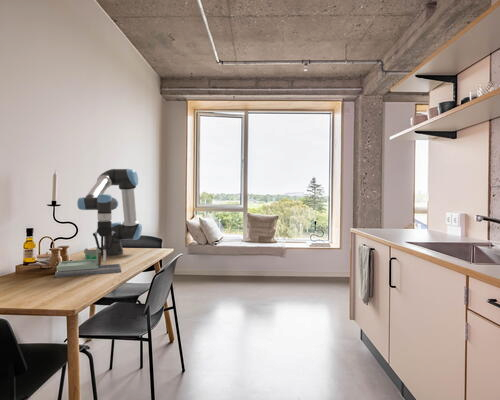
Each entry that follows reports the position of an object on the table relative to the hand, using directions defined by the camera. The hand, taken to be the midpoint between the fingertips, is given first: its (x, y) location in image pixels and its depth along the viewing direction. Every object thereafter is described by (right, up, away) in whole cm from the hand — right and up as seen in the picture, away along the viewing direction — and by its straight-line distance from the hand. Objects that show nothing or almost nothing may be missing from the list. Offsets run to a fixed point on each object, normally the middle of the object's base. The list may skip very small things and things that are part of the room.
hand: (104, 261), depth 198 cm
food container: (-15, -5, +14) cm, 21 cm away
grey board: (-7, -5, -3) cm, 10 cm away
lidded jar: (-37, -5, +6) cm, 38 cm away
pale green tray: (-12, -3, -5) cm, 14 cm away
